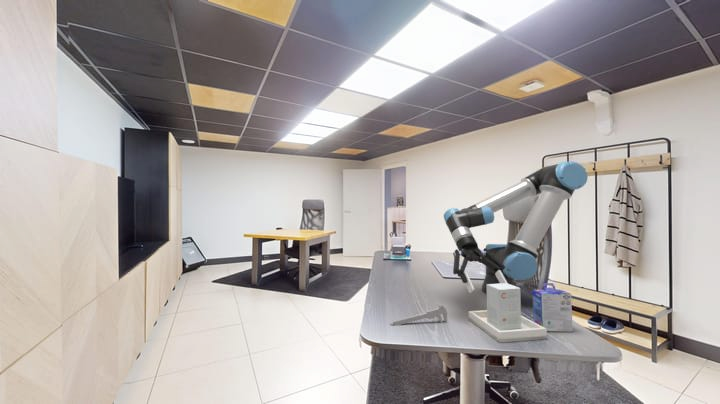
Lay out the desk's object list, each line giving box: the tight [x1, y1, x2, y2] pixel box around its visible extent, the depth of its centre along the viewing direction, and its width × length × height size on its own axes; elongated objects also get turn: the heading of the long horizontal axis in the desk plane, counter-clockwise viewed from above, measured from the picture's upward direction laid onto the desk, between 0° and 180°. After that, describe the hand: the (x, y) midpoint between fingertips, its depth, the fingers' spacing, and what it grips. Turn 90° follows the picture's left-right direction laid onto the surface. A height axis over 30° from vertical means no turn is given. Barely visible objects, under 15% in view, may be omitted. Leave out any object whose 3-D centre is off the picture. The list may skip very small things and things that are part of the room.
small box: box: [486, 283, 522, 330], centre depth 85 cm, size 8×6×13 cm
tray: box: [468, 309, 548, 344], centre depth 85 cm, size 16×16×3 cm
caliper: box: [389, 304, 448, 326], centre depth 89 cm, size 20×1×6 cm, turn 98°
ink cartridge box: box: [531, 282, 574, 333], centre depth 86 cm, size 10×6×14 cm, turn 89°
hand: (489, 289), depth 90 cm, fingers open, 13 cm apart
